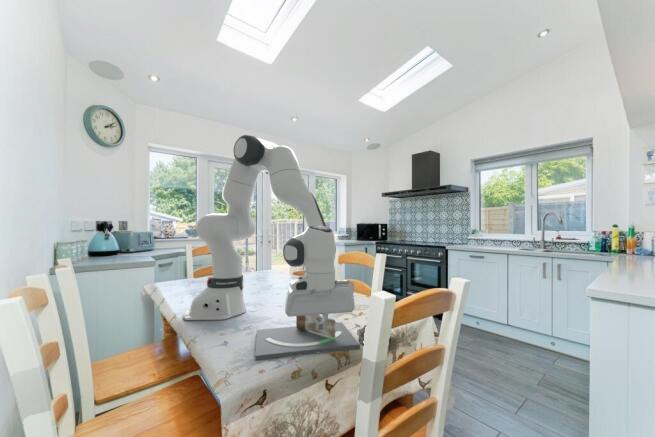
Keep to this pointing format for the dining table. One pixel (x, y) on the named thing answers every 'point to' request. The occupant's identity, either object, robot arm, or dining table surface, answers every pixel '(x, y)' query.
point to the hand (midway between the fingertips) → (320, 328)
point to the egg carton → (361, 334)
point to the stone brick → (310, 324)
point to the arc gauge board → (301, 341)
